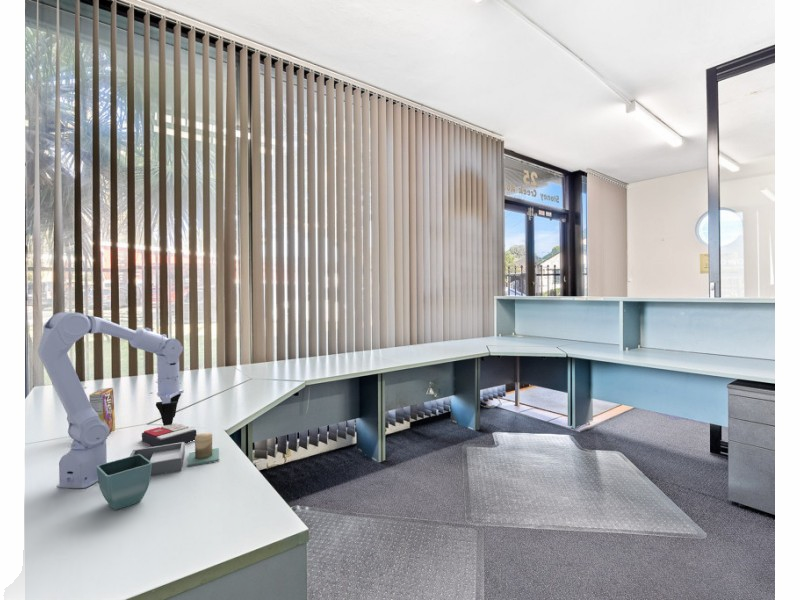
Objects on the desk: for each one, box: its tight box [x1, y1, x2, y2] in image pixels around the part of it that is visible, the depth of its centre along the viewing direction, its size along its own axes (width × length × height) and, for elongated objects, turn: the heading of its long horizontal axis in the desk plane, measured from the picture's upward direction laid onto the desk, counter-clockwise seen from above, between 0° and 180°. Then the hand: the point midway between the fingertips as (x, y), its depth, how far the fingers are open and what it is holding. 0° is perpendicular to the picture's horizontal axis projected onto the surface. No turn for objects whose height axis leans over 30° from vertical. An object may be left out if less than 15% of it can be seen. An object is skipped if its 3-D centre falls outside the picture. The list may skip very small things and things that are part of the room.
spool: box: [194, 432, 213, 459], centre depth 112 cm, size 4×4×6 cm
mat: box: [186, 447, 220, 468], centre depth 112 cm, size 8×9×1 cm
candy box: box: [88, 387, 116, 435], centre depth 133 cm, size 9×4×15 cm, turn 17°
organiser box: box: [129, 442, 186, 478], centre depth 107 cm, size 13×13×4 cm
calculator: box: [141, 422, 197, 447], centre depth 127 cm, size 11×4×15 cm
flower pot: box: [96, 454, 152, 511], centre depth 88 cm, size 9×9×9 cm
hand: (169, 421), depth 117 cm, fingers open, 7 cm apart
